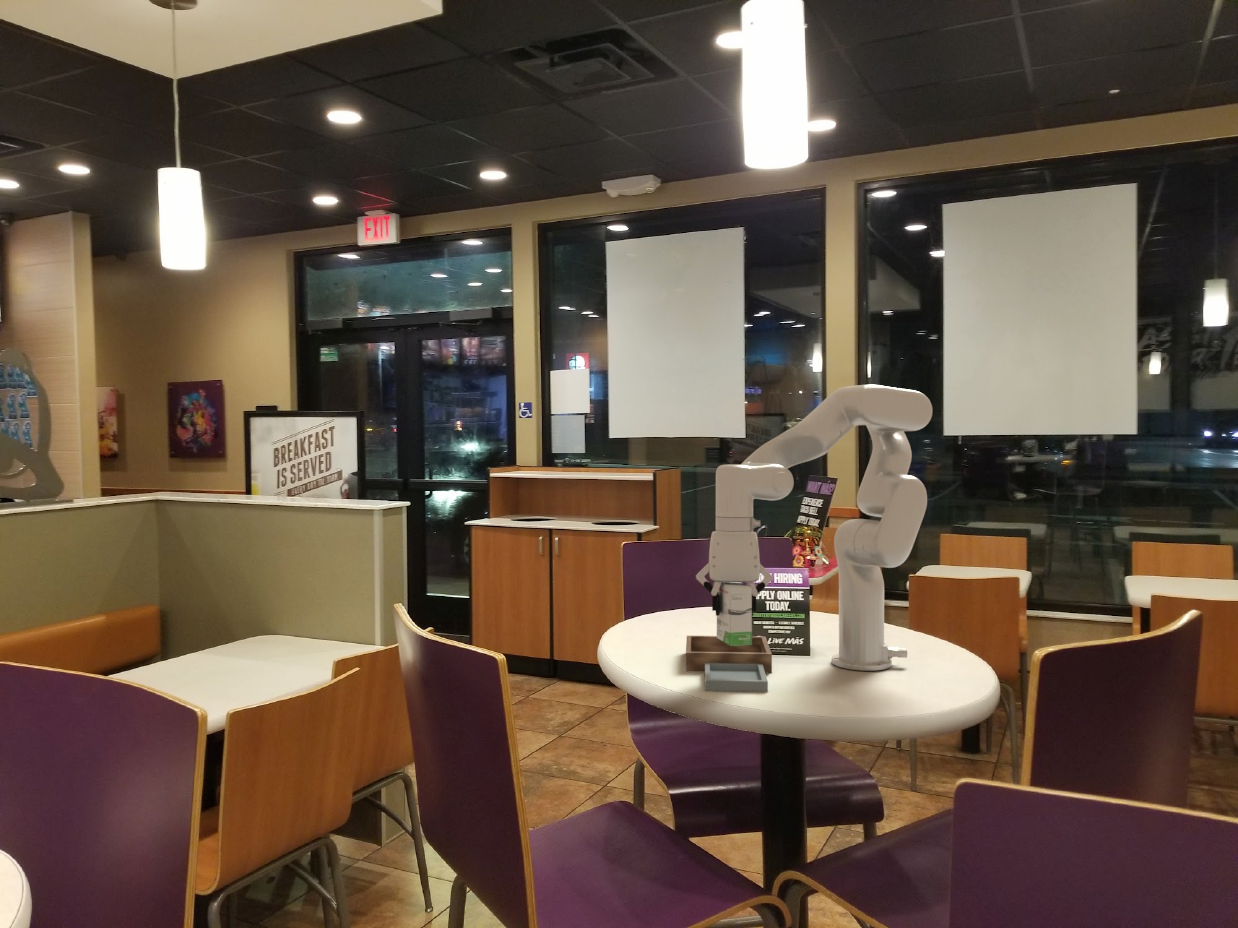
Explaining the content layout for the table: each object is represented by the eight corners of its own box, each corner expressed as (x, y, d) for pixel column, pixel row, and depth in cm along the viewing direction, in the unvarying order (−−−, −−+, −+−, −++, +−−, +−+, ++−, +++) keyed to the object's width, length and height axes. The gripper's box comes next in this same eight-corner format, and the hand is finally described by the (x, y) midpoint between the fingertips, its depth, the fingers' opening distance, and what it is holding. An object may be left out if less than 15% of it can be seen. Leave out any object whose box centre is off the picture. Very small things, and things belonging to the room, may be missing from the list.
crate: (765, 653, 201) (765, 636, 200) (771, 672, 184) (771, 653, 184) (686, 652, 202) (686, 635, 202) (685, 671, 185) (685, 652, 185)
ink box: (753, 645, 173) (753, 586, 173) (729, 646, 172) (729, 586, 172) (738, 636, 181) (738, 579, 181) (715, 637, 180) (715, 580, 180)
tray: (762, 673, 183) (762, 663, 183) (767, 691, 169) (767, 681, 169) (704, 672, 184) (704, 662, 184) (705, 690, 170) (705, 680, 170)
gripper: (775, 524, 179) (775, 611, 180) (691, 523, 181) (691, 610, 181) (779, 527, 172) (779, 618, 172) (691, 526, 173) (691, 617, 174)
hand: (734, 613), depth 177 cm, fingers closed on ink box, 6 cm apart
